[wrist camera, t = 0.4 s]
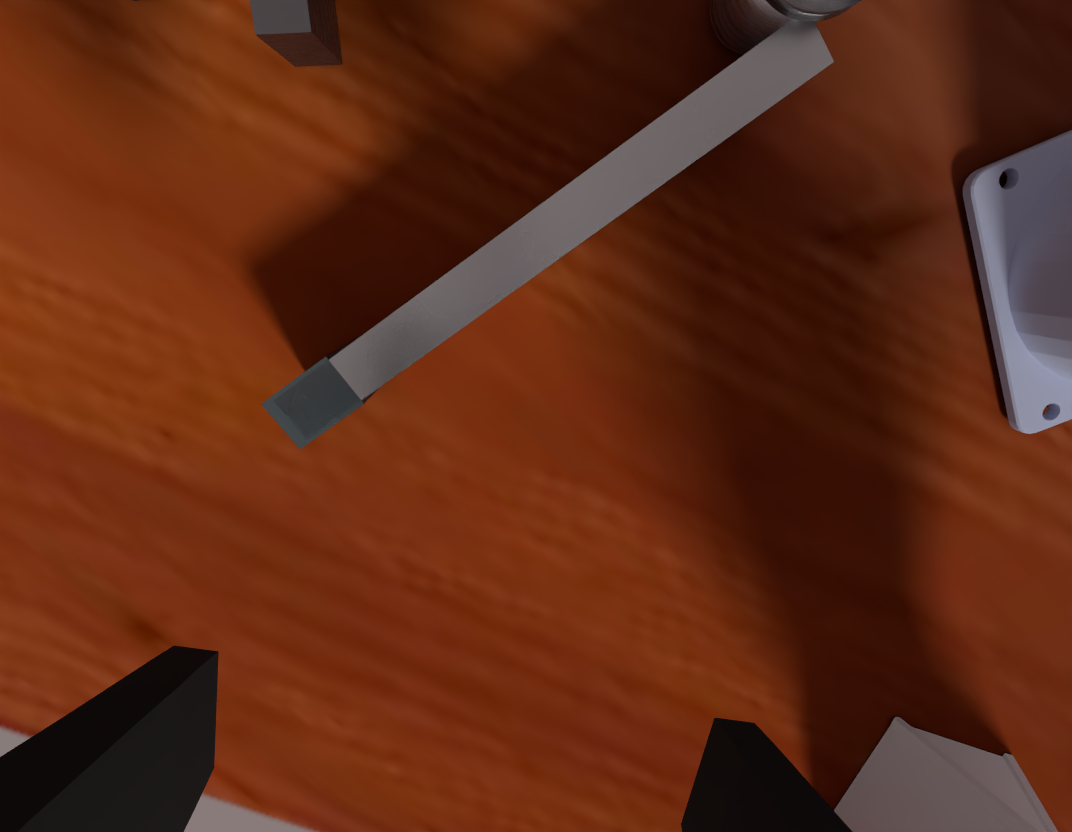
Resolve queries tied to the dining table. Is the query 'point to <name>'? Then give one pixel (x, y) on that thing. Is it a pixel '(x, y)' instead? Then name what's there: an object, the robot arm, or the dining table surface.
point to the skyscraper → (939, 788)
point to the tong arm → (565, 214)
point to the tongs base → (313, 39)
